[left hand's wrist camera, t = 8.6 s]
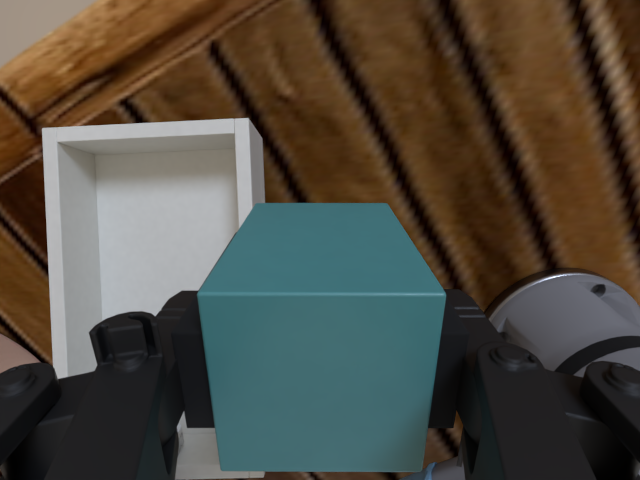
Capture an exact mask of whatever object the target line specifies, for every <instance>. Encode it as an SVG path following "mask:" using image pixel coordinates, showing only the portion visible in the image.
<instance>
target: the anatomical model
mask: <svg viewBox="0 0 640 480" xmlns="http://www.w3.org/2000/svg"><path fill="white" fill-rule="evenodd" d="M37 362H40V361H39V360H38V359H37V358H36V357H35V356H33V355H32V354H31V353H30V352H29V351H27V350H26V349H24V348H23V347H22V346H20V345H19V344H17V343H16V342H14V341H13V340H11V339H9V338H7V337H6V336H4V335H2V334H0V373H2V372H4V371H6V370H7V369H10V368H12V367H15V366H16V367H17V366H19V365H23V364H29V363H37ZM40 363H41V362H40Z"/></svg>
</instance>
